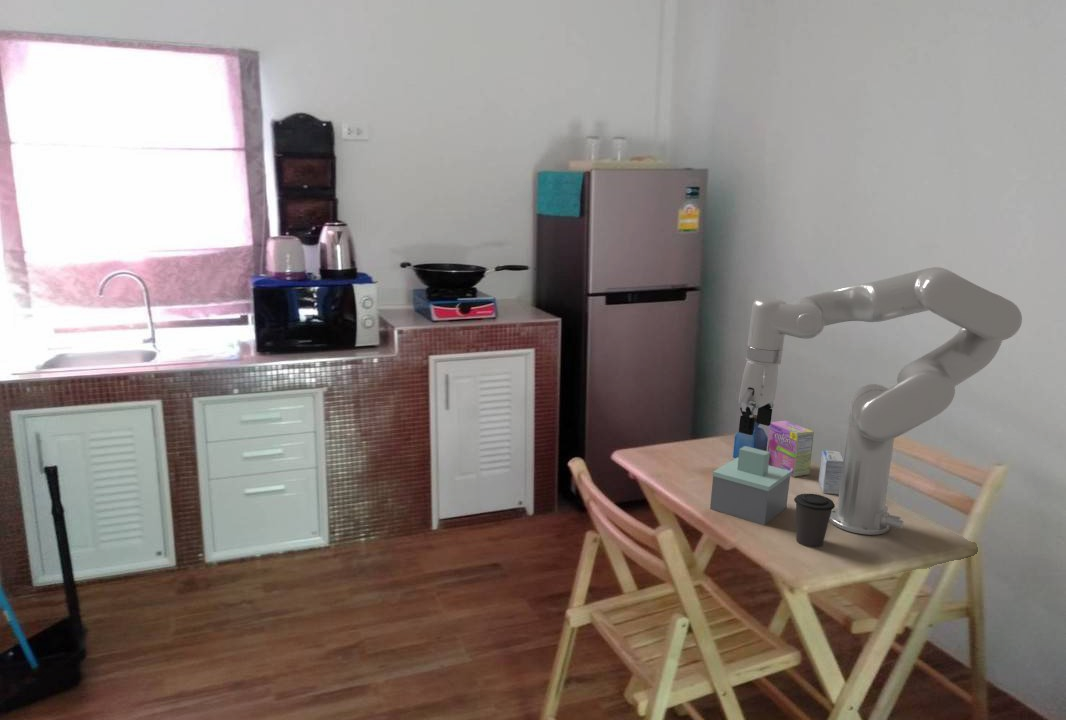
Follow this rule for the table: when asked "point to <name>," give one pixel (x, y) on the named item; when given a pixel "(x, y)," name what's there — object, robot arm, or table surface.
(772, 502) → the parts tub
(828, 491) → the medicine box
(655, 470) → the table surface
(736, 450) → the perfume bottle
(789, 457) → the box
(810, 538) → the coffee cup
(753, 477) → the lid
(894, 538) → the table surface
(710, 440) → the table surface
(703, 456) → the table surface
